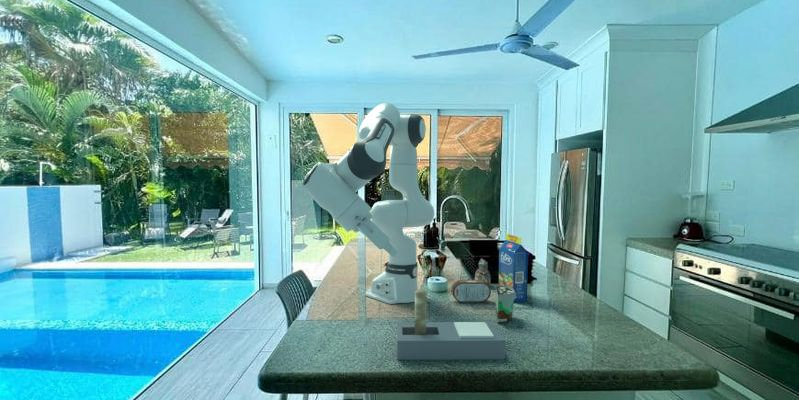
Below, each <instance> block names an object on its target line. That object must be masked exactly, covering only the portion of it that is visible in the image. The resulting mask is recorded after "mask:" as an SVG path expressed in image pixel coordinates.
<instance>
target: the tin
mask: <svg viewBox="0 0 799 400" xmlns="http://www.w3.org/2000/svg"><path fill="white" fill-rule="evenodd" d="M450 291H451V294H452V296H453V298H454V299H455V300H456V301H457V302H459V303H484V302H486V301H488V300H489V299H490V297H491V293H492V289H491V287H489V285H488V284H487V282H485V281H483V280H475V279H458V280H456V281H455V282H454V283H453V284H452V286H451V290H450Z"/></svg>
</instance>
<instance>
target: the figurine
mask: <svg viewBox="0 0 799 400" xmlns="http://www.w3.org/2000/svg"><path fill="white" fill-rule="evenodd" d="M488 265H489V263H488V261H486V260H485V259H484V258H480V260H479V261H478V268H477V269H476V271H475V274H474V280H483V281H485V282H487V284H488V285H489V287H490V288H491V284H492V283H491V273H490V271H489V270H488V268H489V267H488Z"/></svg>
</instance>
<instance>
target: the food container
mask: <svg viewBox="0 0 799 400" xmlns="http://www.w3.org/2000/svg"><path fill="white" fill-rule="evenodd" d="M515 298H516V294H515V291H514V289H513V288H511V287H508V286H504V285H499V284H495V317H496V322H497V325H504V324H505V323H506V324H509V322H510V323H511V322H512V321H513V312H514V305H515V304H514V303H515V302H514V299H515ZM506 324H505V325H506Z"/></svg>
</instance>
